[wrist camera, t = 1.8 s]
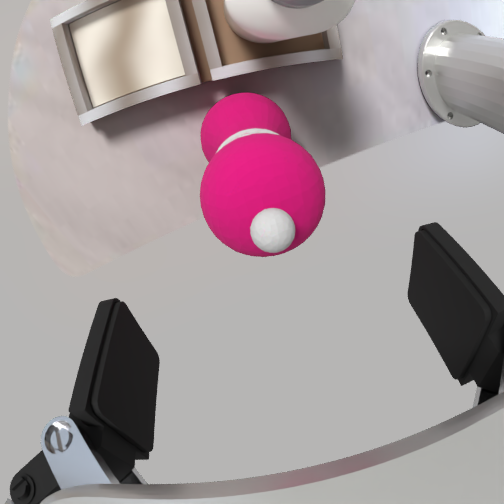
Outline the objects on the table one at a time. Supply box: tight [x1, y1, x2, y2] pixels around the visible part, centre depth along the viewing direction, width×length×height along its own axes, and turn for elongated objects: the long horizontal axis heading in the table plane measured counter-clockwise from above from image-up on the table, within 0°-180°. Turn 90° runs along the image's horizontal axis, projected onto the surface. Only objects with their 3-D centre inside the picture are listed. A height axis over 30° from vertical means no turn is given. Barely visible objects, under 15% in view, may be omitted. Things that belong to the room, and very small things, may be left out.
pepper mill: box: [200, 93, 325, 257], centre depth 20 cm, size 7×7×20 cm
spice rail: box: [50, 0, 343, 125], centre depth 21 cm, size 24×11×3 cm, turn 102°
